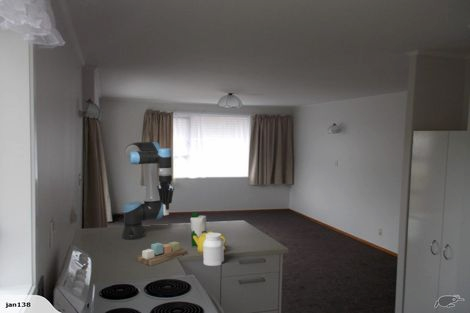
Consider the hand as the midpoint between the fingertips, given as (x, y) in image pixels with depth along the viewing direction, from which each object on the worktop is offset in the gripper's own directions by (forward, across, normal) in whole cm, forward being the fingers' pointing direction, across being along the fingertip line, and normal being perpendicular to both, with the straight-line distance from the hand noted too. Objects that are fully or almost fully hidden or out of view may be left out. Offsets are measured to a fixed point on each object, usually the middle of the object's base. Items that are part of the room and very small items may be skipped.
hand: (166, 214), depth 216 cm
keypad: (+22, +6, -9) cm, 24 cm away
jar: (+21, +35, +3) cm, 41 cm away
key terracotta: (+21, +6, -6) cm, 22 cm away
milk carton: (+22, +7, +20) cm, 31 cm away
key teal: (+19, +6, -12) cm, 23 cm away
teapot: (+22, +20, +15) cm, 34 cm away
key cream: (+21, +6, -18) cm, 28 cm away
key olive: (+21, +6, 0) cm, 22 cm away
